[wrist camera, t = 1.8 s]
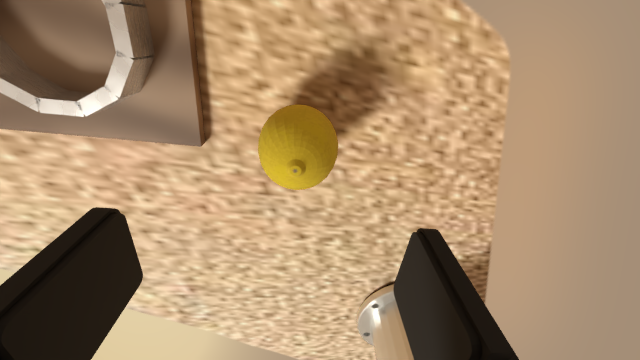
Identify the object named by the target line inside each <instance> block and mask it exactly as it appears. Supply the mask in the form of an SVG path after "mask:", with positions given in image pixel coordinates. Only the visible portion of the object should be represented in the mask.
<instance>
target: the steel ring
mask: <svg viewBox="0 0 640 360" xmlns="http://www.w3.org/2000/svg"><path fill="white" fill-rule="evenodd" d="M101 1H102V2H103V3H104V5H105V7H106V11H107V15H108V20H109V24H110V28H111V33H112V37H113V42H114V46H115V50H116V54H115V57H114V60H113V63H112V66H111V69H110V72H109V75H108V78H107V80H106V83H105V86H104V87H102V88H100V89H98V90H97V91H95V92H93V93H86V92H76V91H68V90H66V89H64V88H62V87H60V86H59V85H57V84H55V83H53V82H51V81H50V80H48V79H46V78H44V77H43V76H41V75H39V74H37V73H35V72H34V71H32V70H31V69H30V68H29V67H28V66H27V65H26V64H25V63H24V62H23V61H22V59H21V58H20V57H19V56H18V55H17V54H16V53H15V52H14V50H13V49H12V48H11V47H10V46H9V45H8V44H7V43H6V42H5V40H4V39H3V38H2V37H1V36H0V93H2V94H4V95H6V96H8V97H10V98H12V99H14V100H16V101H18V102H20V103H21V104H23V105H25V106H27V107H29V108H31V109H33V110H35V111H37V112H40V113H48V114H59V115H69V116H80V117H85V116H89V115H92V114H94V113H97V112H100V111H103V110H105V109H108V108H111V107H112V106H114V105H116V104H118V103H120V102H122V101H124V100H126V99H127V98H129V97H131V96H133V95H135V94H137V93H139V91H141V89H142V87H143V84H144V82H145V79H146V77H147V74H148V72H149V69H150V67H151V64H152V62H153V60H154V56H152V55H155V54H154V48H153V42H152V36H151V30H150V24H149V18H148V12H147V8H145V7H144V6H145V3H144V2H143V0H101Z"/></svg>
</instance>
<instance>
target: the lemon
mask: <svg viewBox="0 0 640 360" xmlns="http://www.w3.org/2000/svg"><path fill="white" fill-rule="evenodd" d="M258 153H259V158H260V162H261V165H262V167H263V169H264V171H265V172H266V174H267V175H268V176H269V177H270V178H271V179H272V180H273V181H274V182H275V183H277V184H278V185H280V186H283V187H285V188H288V189H294V190H302V189H307V188H311V187H313V186H315V185H317V184H319V183H320V182H322V181H323V180H324V179H325V178H326V177H327V176H328V174H329V173H330V171H331V170H332V168H333V166H334V164H335V161H336V158H337V153H338V140H337V136H336V132H335V129H334V127H333V125H332V123H331V122H330V120H329V119H328V118H327V117H326V116H325V115H324V114H323V113H322V112H320V111H319V110H317V109H315V108H313V107H310V106H307V105H298V104H296V105H290V106H286V107H284V108H282V109H280V110H278V111H276V112H275V113H274V114H273V115H272V116H270V117H269V119H268V120H267V122H266V123H265V125H264V126H263V128H262V131H261V134H260V137H259V145H258Z"/></svg>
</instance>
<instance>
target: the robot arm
mask: <svg viewBox="0 0 640 360" xmlns="http://www.w3.org/2000/svg"><path fill="white" fill-rule="evenodd" d="M142 278H143V273H142V269H141V266H140V263H139V260H138V256H137V253H136V250H135V247H134V243H133V240H132V237H131V234H130V231H129V227H128V224H127V221H126V218H125V216H124V215H123V214H121V213H120V211H119V210H118V209H113V208H97V207H96V208H93V209H91V210H90V211H88V212H87V213H86V214H85V215H84V216H82V217H81V218H80V219H79V220H78V221H76V222H75V223H74V224H73V225H72V226H71V227H69V228H68V229H67V230H66V231H65V232H63V233H62V234H61V235H60V236H59V237H57V238H56V239H55V240H54V241H53V242H52V243H50V244H49V245H48V246H47V247H46V248H44V249H43V250H42V251H41V252H40V253H38V254H37V255H36V256H35V257H34V258H32V259H31V260H30V261H29V262H28V263H27V264H25V265H24V266H23V267H22V268H21V269H19V270H18V271H17V272H16V273H15V274H13V275H12V276H11V277H10V278H9V279H8V280H6V281H5V282H4V283H3V284H2V285H1V286H0V360H91V359H92V357H93V356H94V354H95V353H96V351H97V350H98V348H99V346H100V345H101V343H102V342H103V340H104V339H105V337H106V336H107V334H108V333H109V331H110V330H111V328H112V327H113V325H114V324H115V322H116V320H117V319H118V318H119V316H120V314H121V313H122V311H123V310H124V308H125V307H126V305H127V304H128V302H129V301H130V299H131V298H132V296H133V295H134V293H135V292H136V290H137V289H138V287H139V285H140V284H141V281H142ZM357 326H358V331H359V333H360V335H361V336H362V338H363V339H364V340H365V341H366V342H367V343H369V344H371V345H372V346H374V349H375V355H376V360H519V359H518V357H517V356H516V354H515V352H514V351H513V349H512V348H511V346H510V344H509V343H508V341H507V340H506V338H505V336H504V335H503V333H502V331H501V330H500V328H499V327H498V325H497V323H496V322H495V320H494V319H493V317H492V316H491V314H490V312H489V311H488V309H487V307H486V306H485V304H484V303H483V301H482V299H481V298H480V296H479V295H478V293H477V291H476V290H475V288H474V287H473V285H472V283H471V282H470V280H469V279H468V277H467V276H466V274H465V272H464V271H463V269H462V268H461V266H460V264H459V263H458V261H457V259H456V258H455V256H454V255H453V253H452V251H451V250H450V248H449V247H448V245H447V243H446V242H445V240H444V239H443V237H442V235H441V234H440V232H439V231H438V230H436V229H423V228H420V229H418V230H417V232H413V233H412V235H411V238H410V241H409V244H408V246H407V249H406V252H405V255H404V258H403V261H402V263H401V266H400V269H399V272H398V275H397V277H396V280H395V283H394V284H393V285H390V286H387V287H384V288H382V289H380V290H378V291H377V292H375V293H373V294H372V295H371V296H369V297H368V298H367V299H366V300H365V301H364V302H363V304H362V305H361V306H360V308H359V311H358V313H357Z"/></svg>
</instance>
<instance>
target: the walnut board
mask: <svg viewBox="0 0 640 360" xmlns="http://www.w3.org/2000/svg"><path fill="white" fill-rule="evenodd" d="M143 2H144V3H145V6H144V7H145V8H147V12H148V18H149V24H150V30H151V36H152V42H153V48H154V54H155V55H152V56H154V60H153V62H152V64H151V67H150V69H149V72H148V74H147V77H146V79H145V82H144V84H143V87H142V89H141V91H139V93H137V94H135V95H133V96H131V97H129V98H127V99H126V100H124V101H122V102H120V103H118V104H116V105H114V106H112V107H111V108H108V109H105V110H103V111H100V112H97V113H94V114H92V115H89V116H85V117H80V116H69V115H59V114H48V113H40V112H37V111H35V110H33V109H31V108H29V107H27V106H25V105H23V104H21V103H20V102H18V101H16V100H14V99H12V98H10V97H8V96H6V95H4V94H2V93H0V129H9V130H20V131H32V132H43V133H54V134H65V135H77V136H88V137H99V138H110V139H122V140H133V141H144V142H155V143H167V144H178V145H189V146H202V145H203V144H204V143H205V133H204V124H203V114H202V104H201V94H200V84H199V74H198V64H197V54H196V44H195V35H194V25H193V15H192V5H191V0H143ZM0 36H1V37H2V38H3V39H4V40H5V42H6V43H7V44H8V45H9V46H10V47H11V48H12V49H13V50H14V52H15V53H16V54H17V55H18V56H19V57H20V58H21V59H22V61H23V62H24V63H25V64H26V65H27V66H28V67H29V68H30V69H31V70H32V71H34V72H35V73H37V74H39V75H41V76H43V77H44V78H46V79H48V80H50V81H51V82H53V83H55V84H57V85H59V86H60V87H62V88H64V89H66V90H68V91H76V92H86V93H93V92H95V91H97V90H98V89H100V88H102V87H104V86H105V83H106V80H107V78H108V75H109V72H110V69H111V66H112V63H113V60H114V57H115V54H116V50H115V46H114V42H113V37H112V33H111V28H110V24H109V20H108V15H107V11H106V7H105V5H104V3H103V2H102V1H101V0H0Z"/></svg>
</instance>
